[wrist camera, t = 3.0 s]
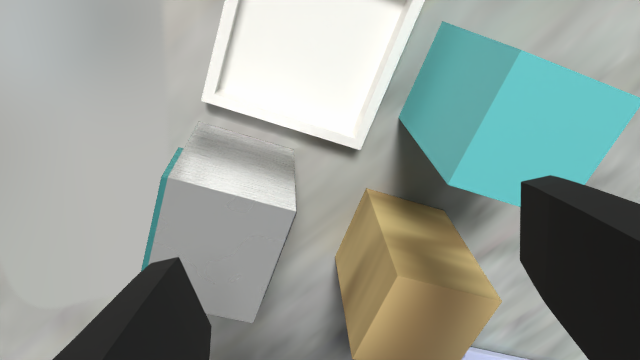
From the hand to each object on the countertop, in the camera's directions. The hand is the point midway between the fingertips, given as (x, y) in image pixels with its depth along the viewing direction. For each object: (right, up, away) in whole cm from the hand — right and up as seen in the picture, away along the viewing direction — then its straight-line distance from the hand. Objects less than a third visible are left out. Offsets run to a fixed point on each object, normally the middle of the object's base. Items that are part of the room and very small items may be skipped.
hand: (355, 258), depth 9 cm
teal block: (+5, +5, +8) cm, 11 cm away
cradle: (-1, +7, +7) cm, 10 cm away
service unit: (-5, +1, +9) cm, 11 cm away
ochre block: (+3, -1, +11) cm, 12 cm away
